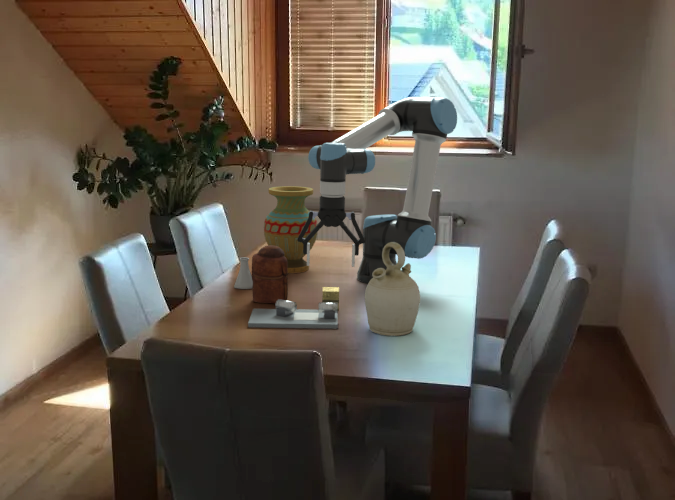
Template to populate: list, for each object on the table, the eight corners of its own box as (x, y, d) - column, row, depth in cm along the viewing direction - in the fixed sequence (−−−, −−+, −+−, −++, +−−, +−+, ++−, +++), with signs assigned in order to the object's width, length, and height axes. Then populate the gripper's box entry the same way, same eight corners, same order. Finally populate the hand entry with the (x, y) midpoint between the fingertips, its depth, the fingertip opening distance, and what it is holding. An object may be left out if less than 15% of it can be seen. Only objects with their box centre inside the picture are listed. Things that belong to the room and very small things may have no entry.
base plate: (337, 313, 216) (337, 309, 216) (337, 328, 202) (337, 324, 202) (253, 312, 216) (253, 308, 215) (248, 327, 202) (248, 322, 202)
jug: (379, 341, 193) (382, 249, 187) (354, 324, 206) (356, 238, 201) (429, 334, 199) (433, 245, 193) (402, 318, 212) (405, 235, 207)
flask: (251, 290, 240) (251, 261, 238) (230, 289, 241) (230, 259, 239) (258, 285, 247) (258, 256, 245) (237, 283, 248) (237, 255, 246)
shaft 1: (298, 314, 211) (298, 300, 210) (290, 318, 207) (290, 304, 206) (282, 311, 213) (282, 297, 212) (274, 315, 210) (274, 301, 209)
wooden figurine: (290, 299, 230) (290, 244, 226) (286, 305, 224) (287, 248, 220) (253, 297, 231) (253, 242, 227) (249, 303, 225) (248, 246, 221)
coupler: (338, 305, 224) (339, 287, 223) (338, 310, 219) (339, 291, 218) (322, 305, 224) (322, 286, 223) (322, 310, 219) (322, 291, 218)
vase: (308, 261, 283) (309, 185, 277) (323, 273, 264) (325, 191, 258) (258, 264, 277) (258, 186, 270) (270, 276, 258) (270, 193, 252)
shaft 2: (318, 318, 207) (318, 304, 206) (318, 314, 211) (318, 300, 210) (337, 319, 207) (337, 305, 206) (337, 314, 211) (337, 300, 210)
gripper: (373, 195, 218) (371, 263, 223) (291, 192, 218) (290, 261, 222) (375, 198, 211) (372, 269, 215) (289, 196, 211) (288, 267, 215)
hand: (330, 265), depth 219 cm, fingers open, 13 cm apart
